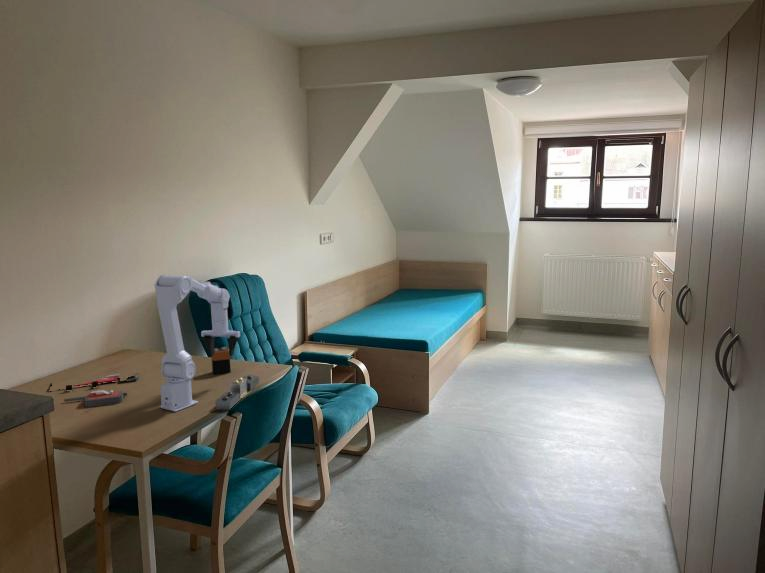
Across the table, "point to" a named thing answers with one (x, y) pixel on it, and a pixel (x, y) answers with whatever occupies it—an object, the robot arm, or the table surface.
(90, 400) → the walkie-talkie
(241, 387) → the block with brass knobs
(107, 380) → the red black toy gun
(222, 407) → the studded link strip
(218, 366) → the battery
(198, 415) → the table surface
